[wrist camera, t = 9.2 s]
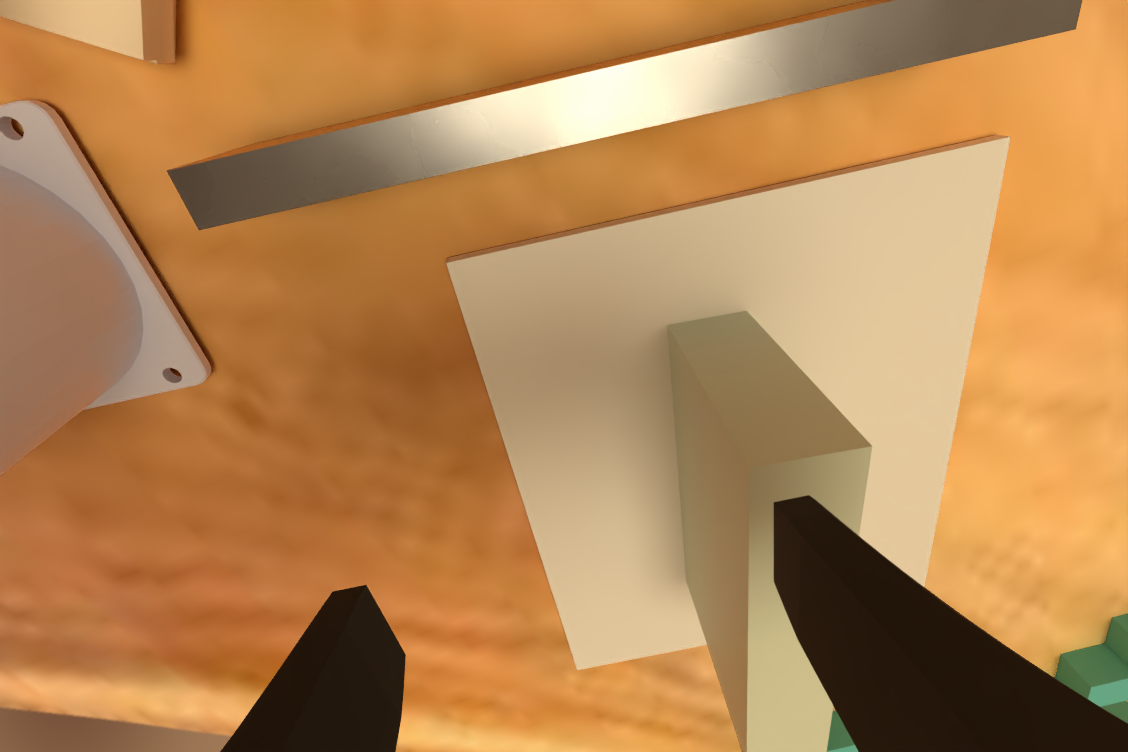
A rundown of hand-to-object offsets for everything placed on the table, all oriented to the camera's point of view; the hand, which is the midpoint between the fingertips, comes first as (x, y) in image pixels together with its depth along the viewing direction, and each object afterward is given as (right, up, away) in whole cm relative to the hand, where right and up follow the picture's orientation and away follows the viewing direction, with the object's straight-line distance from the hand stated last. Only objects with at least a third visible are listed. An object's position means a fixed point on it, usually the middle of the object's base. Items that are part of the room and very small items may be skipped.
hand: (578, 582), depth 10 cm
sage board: (+5, 0, +10) cm, 12 cm away
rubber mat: (+6, 0, +11) cm, 13 cm away
